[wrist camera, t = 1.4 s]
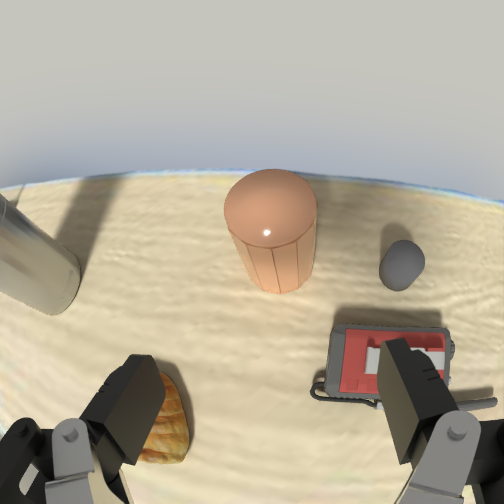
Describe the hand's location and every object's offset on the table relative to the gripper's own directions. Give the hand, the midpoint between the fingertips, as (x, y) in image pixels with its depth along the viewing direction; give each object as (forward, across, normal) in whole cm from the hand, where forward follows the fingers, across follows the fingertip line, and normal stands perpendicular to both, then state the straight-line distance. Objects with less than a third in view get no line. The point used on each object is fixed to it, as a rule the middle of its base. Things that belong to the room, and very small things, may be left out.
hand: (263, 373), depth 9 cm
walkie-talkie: (+12, -12, +13) cm, 21 cm away
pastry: (+9, +13, +15) cm, 22 cm away
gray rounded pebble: (+19, -12, +5) cm, 23 cm away
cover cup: (+20, 0, +3) cm, 21 cm away
